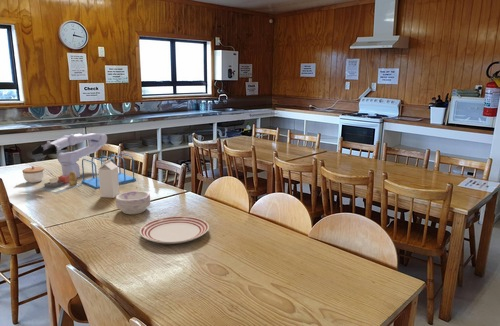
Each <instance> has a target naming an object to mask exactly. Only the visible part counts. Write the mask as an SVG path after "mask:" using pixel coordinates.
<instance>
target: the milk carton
mask: <svg viewBox="0 0 500 326" xmlns="http://www.w3.org/2000/svg"><path fill="white" fill-rule="evenodd" d="M115 164H116V163H115ZM115 164H114V161H113V160H111V159H109V158H108V160H106V161H105V160H104V162H102V164H101V163H100V167H99V168H98V170H97V172H98V177H99V184H100V188H99V193H100V198H109V199H111V198H116V196H117V195H119V194H120V184H119V180H118V173H119V168H118V167H119V166H117V165H115ZM101 165H102V167H101Z"/></svg>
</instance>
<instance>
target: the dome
mask: <svg viewBox="0 0 500 326" xmlns="http://www.w3.org/2000/svg"><path fill="white" fill-rule="evenodd" d="M58 181H59V179H58V177H56V178H55V177H54V178H49V182H50V184H56V183H58Z"/></svg>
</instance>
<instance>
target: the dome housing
mask: <svg viewBox="0 0 500 326" xmlns="http://www.w3.org/2000/svg"><path fill="white" fill-rule="evenodd" d="M62 185H64V183H63V182H61V181H59V180H58V183H56V184H50V181H49V182H45V183H44V184H43V186H44V187H49V188H56V187H59V186H62Z"/></svg>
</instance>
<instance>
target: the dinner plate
mask: <svg viewBox="0 0 500 326" xmlns="http://www.w3.org/2000/svg"><path fill="white" fill-rule="evenodd" d="M209 229H210V225H209V223H208V222H207V221H206V220H204V219H201V218H198V217H194V216H187V215H177V216H173V215H172V216H166V217H162V218H157V219H154V220H151V221H148V222H146V223H144V225H142V226H141V227H140V229H139V234H140V236H141V237H142V238H143V239H145V240H147V241H150V242H153V243H156V244H157V243H158V244H166V245H167V244H168V245H171V244H172V245H175V244H176V245H177V244H182V243H186V242H187V243H188V242H190V241H194V240H196V239H198V238H201V237H202V236H204V235H205V234H206V233H207V232H208V231H209Z"/></svg>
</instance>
